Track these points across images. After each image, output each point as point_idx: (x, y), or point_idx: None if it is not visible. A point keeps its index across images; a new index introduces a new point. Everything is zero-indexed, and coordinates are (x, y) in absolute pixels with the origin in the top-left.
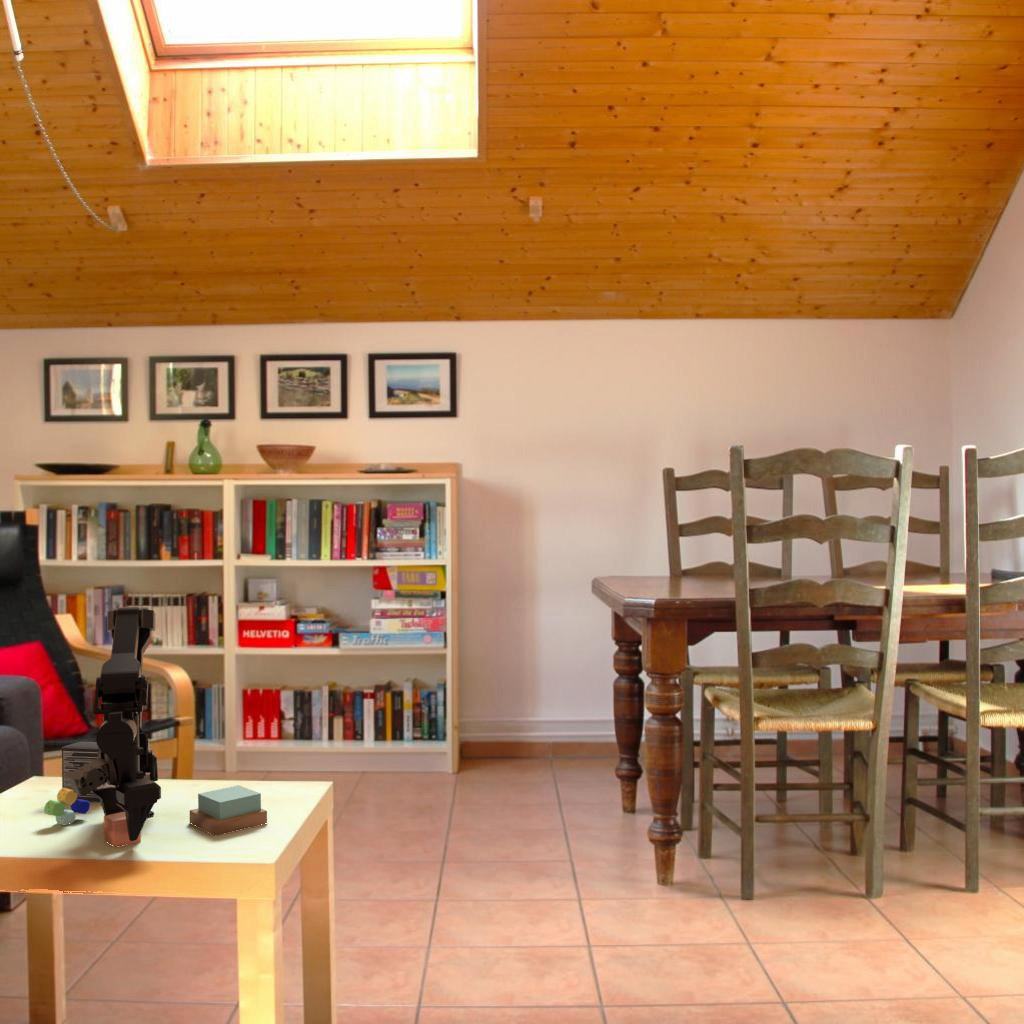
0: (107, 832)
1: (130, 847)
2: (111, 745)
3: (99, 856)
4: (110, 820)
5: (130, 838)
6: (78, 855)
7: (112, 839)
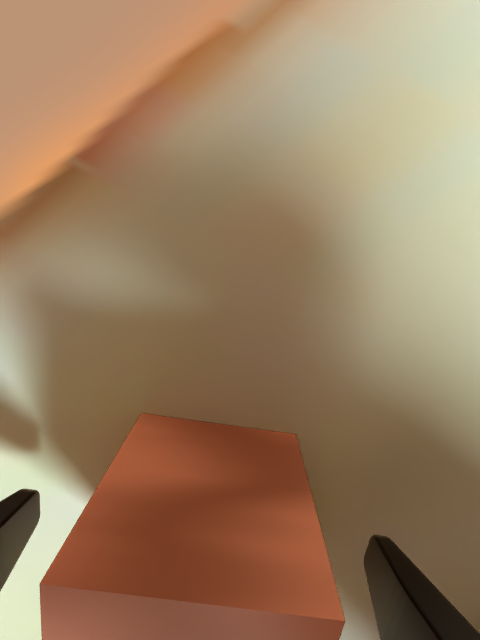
0: (242, 477)
1: (80, 463)
2: None
3: (42, 278)
4: (152, 583)
5: (5, 500)
6: (164, 199)
7: (156, 444)
